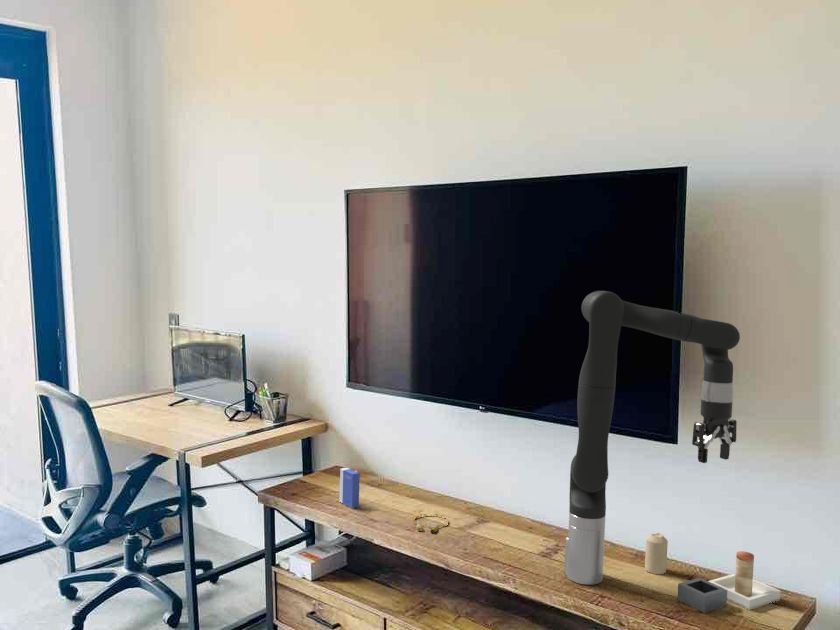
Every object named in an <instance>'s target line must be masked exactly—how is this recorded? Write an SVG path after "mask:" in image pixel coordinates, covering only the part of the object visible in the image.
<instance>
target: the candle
mask: <svg viewBox="0 0 840 630" xmlns="http://www.w3.org/2000/svg"><path fill="white" fill-rule="evenodd" d="M645 539H646V540H645V556H644V557H645V560H644V570H645V571H646V570H647V571H648V572H647V571H646V572H647V573H649V572H650V574H652V573H653V574H652V575H664V573H665V574H666V573H667V562H668V561H667V560H668V545H669V543H668V542H669V541H668V540H667V538H666V537H665V536H664V535H663V533H661V532H660V533H659V532H656V533H654V534H653V533H652V534H649V535H648V536H647V537H646V538H645Z"/></svg>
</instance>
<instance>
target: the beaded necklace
mask: <svg viewBox="0 0 840 630" xmlns="http://www.w3.org/2000/svg"><path fill="white" fill-rule="evenodd" d="M426 514H427V513H424V514H420V515H418V516H416V517H414V519H413V520H414V522H415V523H416V524H417V525H416V524H415V523H414V524H415V526H416V530H417V531H418V532H419V531H424V532H425V529H424V527H422V526H423V525H422V524H420V523H418V522H417V521H416V520H417V519H416V518H418V517H419V516H420V517H422V515H424V516H427V515H426ZM434 514H435V515H436V516H438V515H439V514H437V513H434ZM440 515H441V517H442V516H443V515H442V514H440ZM415 519H416V520H415ZM445 525H446V524H445ZM445 525H443V526H444V527H445ZM440 526H441V525H438V526H437V525H432V526H431V527H432V528H430V530H429V533H430V534H431V533H432V532H433V533H434V532H436V533H437V531H438V529H440V528H439V527H440ZM433 533H432V534H433ZM436 533H434V534H433V535H435V534H436Z"/></svg>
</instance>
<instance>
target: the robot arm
mask: <svg viewBox="0 0 840 630" xmlns="http://www.w3.org/2000/svg"><path fill="white" fill-rule="evenodd" d="M580 309H581V313H582V315H583V317H584V319H585V320H586V321H587V322H588V323H589V324H588V325H589V328H588V330H589V332H588V334H589V335H588V347H587V350H586V353H585V357H584V360H583V363H582V366H581V368H580V373H579V378H578V385H577V386H578V388H577V398H576V399H577V400H576V401H577V403H576V405H577V406H576V407H577V411H576V413H577V424H578V425H577V426H578V427H577V428H578V440H577V446H576V447H577V448H576V453H575V455H574V456H573V458H572V460H571V463H570V475H569V511H568V512H569V515H568V516H569V517H568V537H566V538H565V546H564V564H563V565H564V567H563V569H564V570H563V573H564V574H565V575H566V577H567V579H568V580H570V581H571V582H574V583H577V584H580V585H588V586H589V585H597V584H600V583H602V582H603V577H604V576H603V575H604V573H603V572H604V558H605V557H604V556H605V537H606V536H605V535H606V533H605V532H606V515H607V514H606V511H607V504H606V503H607V501H606V490H607V489H606V487H607V486H606V485H607V481H608V480H609V462H608V461H609V459H608V455H609V454H608V452H609V451H608V444H609V442H608V441H609V433H610V429H611V424H612V419H613V412H614V405H615V404H614V403H615V395H616V384H617V383H616V381H617V378H616V377H617V368H618V367H617V366H618V348H619V346H618V345H619V340H620V334H621V329H622V327H626V328H631V329H635V330H640V331H643V332H646V333H650V334H653V335H657V336H661V337H664V338H668V339H673V340H676V341H680V342H686V343H687V342H688V343H695V344H699V345H701V350H702V358H703V364H704V366H703V380H702V387H701V395H700V397H701V398H700V416H702V417H703V421H702V422H697V421H695V422H694V423H693V429H692V430H693V431H692V440H691V444H692V446H695V447H697V460H698V462H699V463H701V464H706V463H708V453H709V450H708V447H709V446H710V444H711V443H712V442H714V440H715V439H719V442H720V447H719V448H720V450H719V451H720V452H719V458H720V459H722V460H729V459H730V450H731V445H732V444H733V443H736V442H737V424H738V423H737V420H736V419H733V418H732V417H733V416H732V415H733V399H734V387H733V380H734V379H733V377H734V365H733V364H734V363H733V362H732V361H731V360H730V358H729V351H728V350H732V349H734V348H735V347H736V346H737V345H738V344H739V343H740V340H741V335H740V332H739V330H738V329H737V327H736V326H735V325H733V324H731V323H729V322H725V321H719V320H712V319H706V318H703V317H702V318H701V317H698V316H695V315H693V314H688V313H684V312H680V313H681V314H680V313H678V312H679V311H676V312H675V310H670V309H665V308H663V309H662V308H658V307H652V306H651V307H650V306H645V305H640V304H637V303H632V302H630V301H625V300H623V299H621V297H620V296H619V295H617V294H616V293H614V292H612V291H608V290H607V291H606V290H595V291H593V292H591V293H589V294H587V295H586V296H585V298H584V299H583V301H582V303H581V307H580Z"/></svg>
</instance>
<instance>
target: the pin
mask: <svg viewBox="0 0 840 630" xmlns="http://www.w3.org/2000/svg"><path fill="white" fill-rule="evenodd" d="M754 562H755V555H754V554H753V553H751V552H748V551H745V550H744V551H742V550H741V551H737V552H736V557H735V573H734V574H735V592H737V593H739V594H741V595H744V596H746V597H750V596H752V584H753V579H754V578H753V577H754V566H755V565H754Z"/></svg>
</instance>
